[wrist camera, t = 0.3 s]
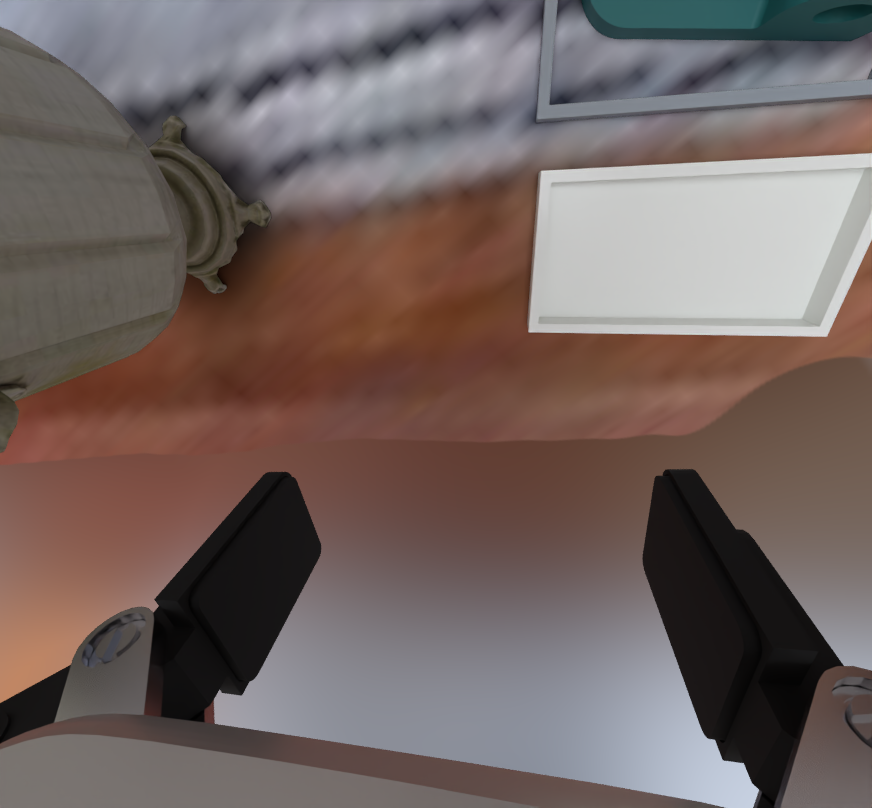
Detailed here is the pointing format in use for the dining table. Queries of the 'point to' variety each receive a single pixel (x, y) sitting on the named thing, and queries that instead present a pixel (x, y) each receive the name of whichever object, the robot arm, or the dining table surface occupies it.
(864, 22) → the bracket
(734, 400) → the dining table surface
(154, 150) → the samovar
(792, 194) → the parts tray
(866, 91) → the grey rectangular frame
